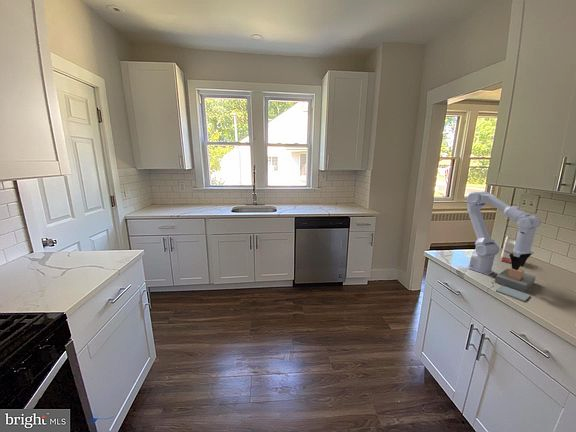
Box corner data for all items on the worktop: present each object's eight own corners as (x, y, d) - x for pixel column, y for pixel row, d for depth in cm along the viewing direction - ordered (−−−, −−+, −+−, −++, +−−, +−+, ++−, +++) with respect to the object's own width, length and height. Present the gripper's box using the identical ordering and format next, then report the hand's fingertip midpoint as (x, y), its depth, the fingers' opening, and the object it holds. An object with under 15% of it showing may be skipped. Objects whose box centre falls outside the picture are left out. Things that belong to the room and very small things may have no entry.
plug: (505, 283, 121) (509, 268, 119) (508, 280, 123) (512, 266, 121) (517, 287, 117) (521, 272, 115) (520, 284, 120) (524, 269, 118)
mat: (495, 291, 113) (496, 290, 113) (502, 286, 117) (502, 285, 117) (524, 301, 105) (524, 300, 105) (530, 296, 109) (530, 295, 109)
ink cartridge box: (512, 263, 143) (518, 240, 140) (501, 261, 146) (506, 238, 143) (511, 259, 150) (516, 236, 146) (500, 257, 153) (506, 234, 149)
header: (494, 282, 121) (496, 275, 120) (505, 274, 130) (507, 268, 129) (524, 292, 112) (525, 285, 112) (534, 283, 121) (535, 276, 120)
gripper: (531, 246, 108) (523, 274, 111) (540, 240, 115) (533, 266, 119) (510, 241, 113) (504, 268, 116) (520, 236, 121) (514, 261, 124)
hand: (517, 267), depth 118 cm, fingers open, 7 cm apart
